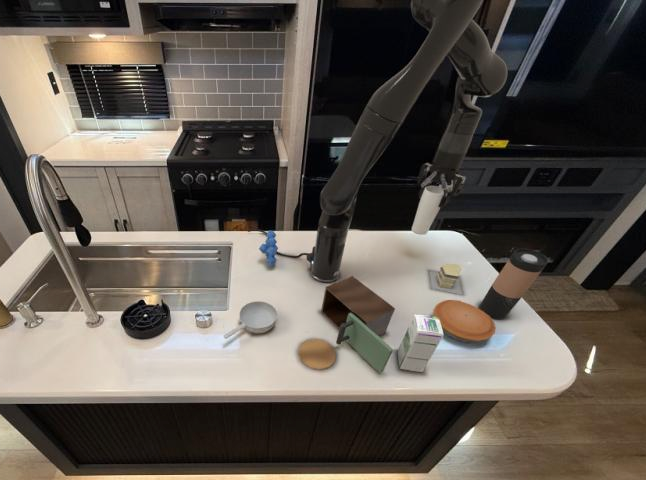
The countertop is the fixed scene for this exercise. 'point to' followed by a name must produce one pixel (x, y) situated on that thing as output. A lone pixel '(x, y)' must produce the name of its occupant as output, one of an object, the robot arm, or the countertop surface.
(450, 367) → the countertop surface
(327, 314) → the cupboard
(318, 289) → the countertop surface
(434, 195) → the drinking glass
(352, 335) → the cupboard door
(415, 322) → the syrup box
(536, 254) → the travel mug
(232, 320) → the countertop surface
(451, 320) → the pie
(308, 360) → the cork mat
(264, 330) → the grey frying pan
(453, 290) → the stacked layers on plate
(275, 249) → the grapes
